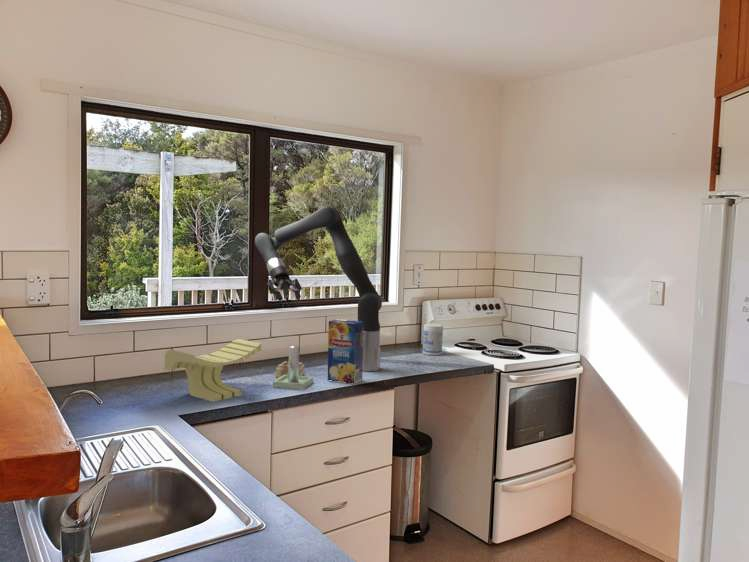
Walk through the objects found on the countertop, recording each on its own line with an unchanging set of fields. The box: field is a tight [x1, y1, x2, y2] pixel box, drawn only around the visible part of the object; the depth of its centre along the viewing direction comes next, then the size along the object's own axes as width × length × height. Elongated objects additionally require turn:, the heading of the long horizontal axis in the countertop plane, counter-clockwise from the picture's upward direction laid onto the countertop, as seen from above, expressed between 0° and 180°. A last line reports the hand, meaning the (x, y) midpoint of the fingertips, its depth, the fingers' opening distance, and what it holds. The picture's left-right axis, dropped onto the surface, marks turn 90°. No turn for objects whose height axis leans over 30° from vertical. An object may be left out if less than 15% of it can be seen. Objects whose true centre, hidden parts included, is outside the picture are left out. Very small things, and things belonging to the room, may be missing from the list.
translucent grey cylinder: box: [288, 345, 300, 383], centre depth 238 cm, size 4×4×14 cm
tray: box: [272, 375, 314, 390], centre depth 238 cm, size 12×12×2 cm
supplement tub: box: [422, 323, 444, 357], centre depth 305 cm, size 10×10×15 cm
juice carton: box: [327, 318, 364, 385], centre depth 246 cm, size 12×8×24 cm, turn 65°
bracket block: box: [275, 361, 305, 379], centre depth 251 cm, size 9×9×5 cm
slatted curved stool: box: [164, 338, 262, 402], centre depth 222 cm, size 30×16×18 cm, turn 141°
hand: (290, 299), depth 259 cm, fingers open, 8 cm apart
